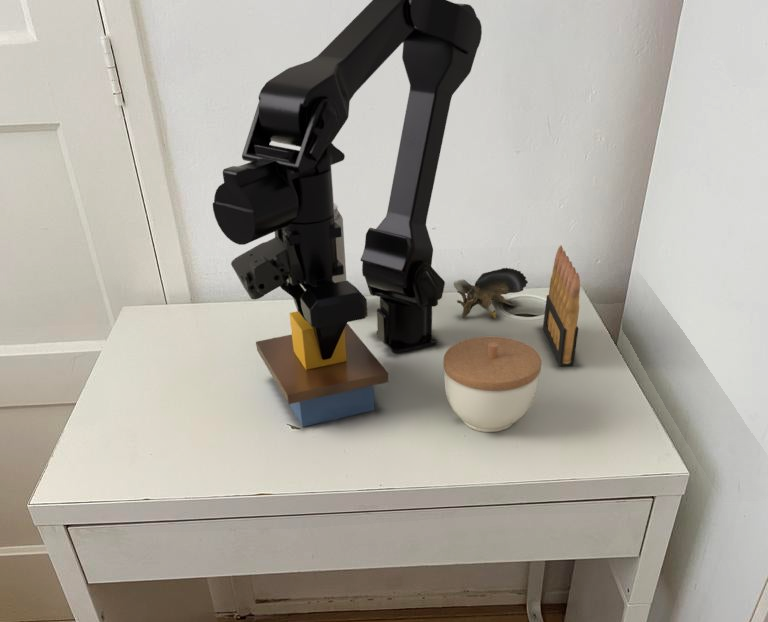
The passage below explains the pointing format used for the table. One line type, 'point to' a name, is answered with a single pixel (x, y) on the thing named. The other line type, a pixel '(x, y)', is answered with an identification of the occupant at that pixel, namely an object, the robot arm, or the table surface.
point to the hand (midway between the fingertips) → (319, 348)
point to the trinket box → (491, 381)
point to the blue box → (334, 406)
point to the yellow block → (312, 344)
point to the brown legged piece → (490, 289)
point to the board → (320, 369)
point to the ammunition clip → (562, 310)
